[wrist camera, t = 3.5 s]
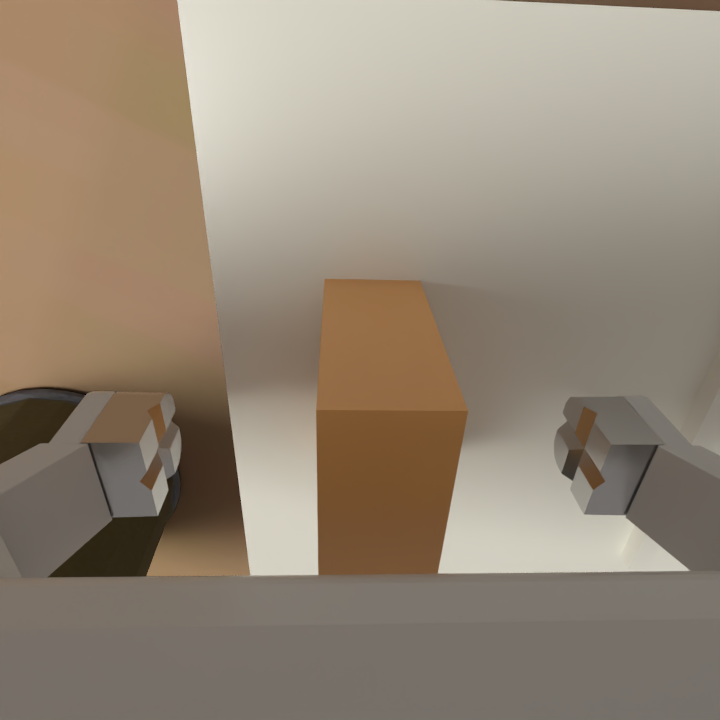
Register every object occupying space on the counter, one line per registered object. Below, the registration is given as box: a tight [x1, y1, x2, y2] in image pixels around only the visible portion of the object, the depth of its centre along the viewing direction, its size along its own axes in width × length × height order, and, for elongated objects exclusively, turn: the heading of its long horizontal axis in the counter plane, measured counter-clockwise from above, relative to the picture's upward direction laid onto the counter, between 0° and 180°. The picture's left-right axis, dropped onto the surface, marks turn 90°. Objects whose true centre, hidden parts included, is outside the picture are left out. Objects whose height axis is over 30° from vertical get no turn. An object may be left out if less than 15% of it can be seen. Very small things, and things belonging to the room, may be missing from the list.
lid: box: [177, 0, 720, 575], centre depth 11 cm, size 19×15×7 cm
